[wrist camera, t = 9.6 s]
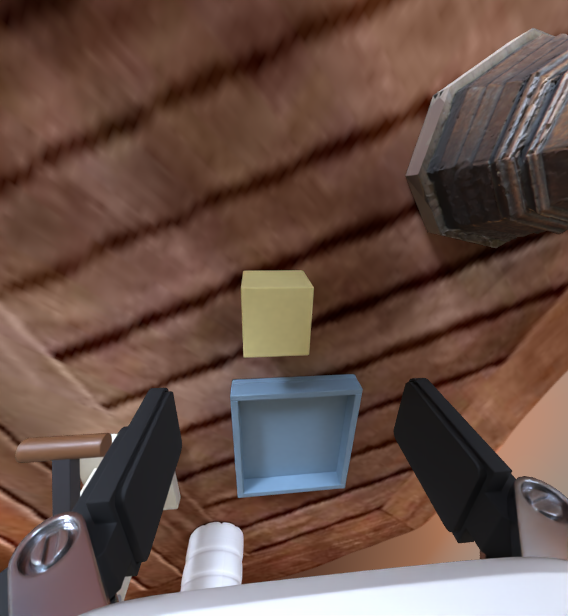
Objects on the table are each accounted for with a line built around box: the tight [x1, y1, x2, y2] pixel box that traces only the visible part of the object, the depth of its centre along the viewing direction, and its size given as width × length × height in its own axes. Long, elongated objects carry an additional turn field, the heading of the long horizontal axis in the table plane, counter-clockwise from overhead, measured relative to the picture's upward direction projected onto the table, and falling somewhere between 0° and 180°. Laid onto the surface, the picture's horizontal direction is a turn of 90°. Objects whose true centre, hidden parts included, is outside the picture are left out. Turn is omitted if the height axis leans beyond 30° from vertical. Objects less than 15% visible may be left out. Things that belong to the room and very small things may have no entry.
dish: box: [230, 374, 362, 498], centre depth 25 cm, size 13×11×2 cm
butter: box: [241, 270, 314, 358], centre depth 19 cm, size 5×4×4 cm
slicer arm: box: [15, 433, 112, 516], centre depth 17 cm, size 13×5×2 cm, turn 178°
